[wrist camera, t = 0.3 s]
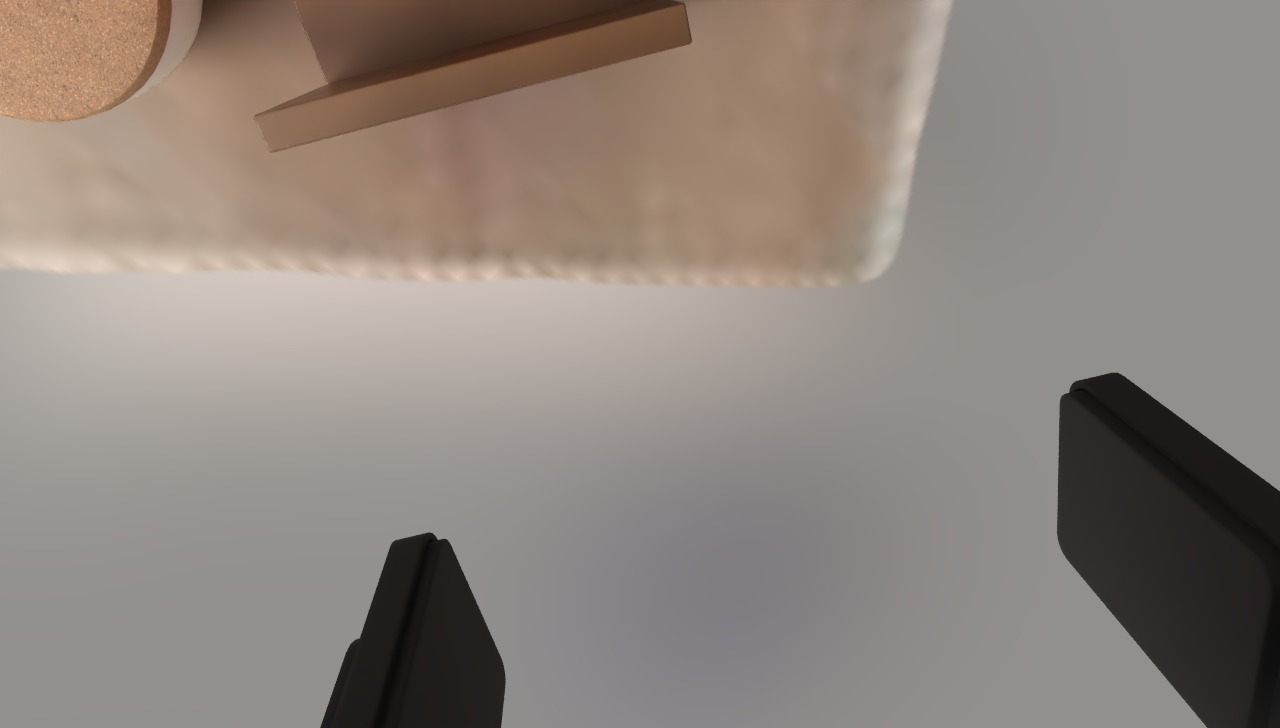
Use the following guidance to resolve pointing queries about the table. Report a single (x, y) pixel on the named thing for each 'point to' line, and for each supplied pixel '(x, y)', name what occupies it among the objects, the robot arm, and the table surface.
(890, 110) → the table surface
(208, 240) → the table surface
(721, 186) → the table surface
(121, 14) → the trinket box
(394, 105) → the wooden toy chair
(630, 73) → the table surface
